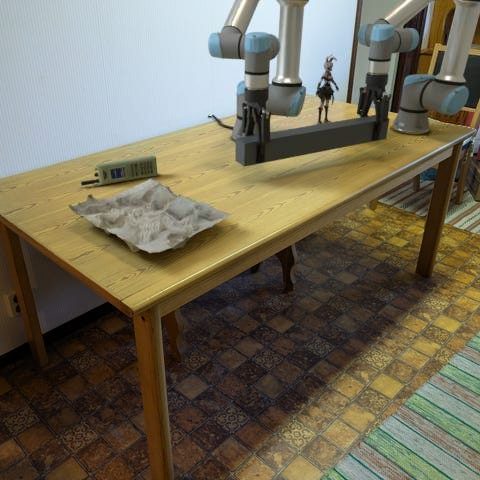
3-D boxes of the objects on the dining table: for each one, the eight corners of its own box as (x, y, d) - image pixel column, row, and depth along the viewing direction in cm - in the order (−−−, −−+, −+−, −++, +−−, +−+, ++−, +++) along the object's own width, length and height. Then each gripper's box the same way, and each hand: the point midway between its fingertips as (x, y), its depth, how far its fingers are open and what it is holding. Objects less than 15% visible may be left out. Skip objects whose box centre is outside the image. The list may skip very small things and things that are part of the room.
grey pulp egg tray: (148, 192, 160) (63, 221, 139) (147, 174, 157) (60, 201, 136) (236, 233, 139) (152, 274, 118) (238, 213, 136) (151, 251, 115)
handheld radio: (158, 176, 170) (83, 189, 160) (155, 173, 172) (80, 186, 162) (156, 157, 167) (79, 169, 157) (153, 154, 169) (77, 166, 159)
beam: (244, 166, 161) (244, 143, 157) (235, 160, 166) (235, 138, 162) (386, 138, 187) (389, 118, 183) (375, 134, 192) (378, 114, 188)
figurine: (317, 128, 219) (323, 55, 204) (306, 125, 223) (312, 53, 208) (338, 122, 227) (346, 52, 213) (327, 119, 231) (334, 50, 217)
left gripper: (284, 92, 149) (280, 166, 160) (251, 79, 163) (250, 148, 174) (262, 95, 145) (260, 171, 157) (230, 82, 159) (231, 152, 171)
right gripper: (405, 76, 170) (395, 143, 181) (366, 66, 184) (359, 129, 195) (389, 79, 166) (379, 146, 178) (351, 69, 181) (344, 132, 192)
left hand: (255, 159), depth 166 cm, fingers closed on beam, 6 cm apart
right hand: (369, 137), depth 187 cm, fingers closed on beam, 6 cm apart
